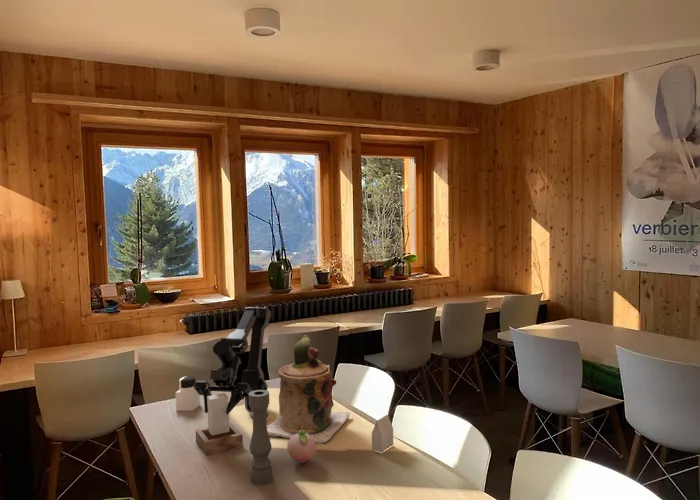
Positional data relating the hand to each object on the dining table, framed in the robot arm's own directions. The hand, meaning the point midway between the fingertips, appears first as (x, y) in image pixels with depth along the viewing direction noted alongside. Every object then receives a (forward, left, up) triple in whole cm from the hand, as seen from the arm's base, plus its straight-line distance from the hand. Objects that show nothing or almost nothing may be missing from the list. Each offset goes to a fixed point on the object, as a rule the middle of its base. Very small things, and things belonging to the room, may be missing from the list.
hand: (216, 413), depth 175 cm
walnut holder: (-1, -1, -11) cm, 11 cm away
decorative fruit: (-18, +26, -11) cm, 33 cm away
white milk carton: (-44, +31, -11) cm, 55 cm away
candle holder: (-4, +29, -11) cm, 31 cm away
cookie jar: (-32, +2, -11) cm, 34 cm away
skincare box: (-1, -1, -7) cm, 7 cm away
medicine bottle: (-1, -41, -11) cm, 42 cm away
